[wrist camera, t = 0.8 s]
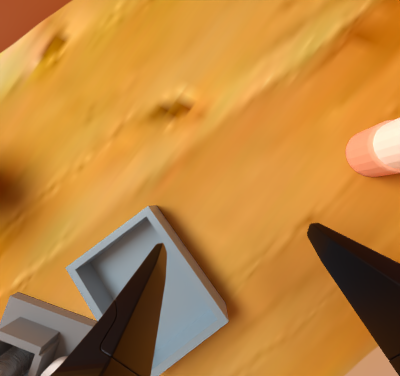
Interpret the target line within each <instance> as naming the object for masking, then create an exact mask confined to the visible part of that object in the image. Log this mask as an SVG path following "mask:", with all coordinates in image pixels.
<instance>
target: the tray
mask: <svg viewBox="0 0 400 376" xmlns="http://www.w3.org/2000/svg"><path fill="white" fill-rule="evenodd" d="M157 243H163V244H164V246H165V248H166V251H167V265H166V281H165V288H164V294H163V301H162V307H161V313H160V320H159V326H158V332H157V339H156V345H155V351H154V357H153V364H152V370H151V376H159V375H160V374H161V373H163V372H164V371H165V370H167V369H168V368H169V367H170V366H172V365H173V364H174V363H176V362H177V361H178V360H180V359H181V358H182V357H183V356H185V355H186V354H187V353H189V352H190V351H191V350H193V349H194V348H195V347H196V346H198V345H199V344H200V343H202V342H203V341H204V340H206V339H207V338H208V337H210V336H211V335H212V334H213V333H215V332H216V331H217V330H219V329H220V328H221V327H223V326H224V325H225V324H226V323H228V322H229V320H228V314H227V308H226V303H225V302H224V300H223V299H222V298H221V296H220V295H219V293H218V292H217V290H216V289H215V288H214V286H213V285H212V283H211V282H210V281H209V279H208V278H207V276H206V275H205V273H204V272H203V271H202V269H201V268H200V266H199V265H198V264H197V262H196V261H195V259H194V258H193V257H192V255H191V254H190V252H189V251H188V249H187V248H186V247H185V245H184V244H183V242H182V241H181V240H180V238H179V237H178V235H177V234H176V232H175V231H174V230H173V228H172V227H171V225H170V224H169V223H168V221H167V220H166V218H165V217H164V215H163V214H162V213H161V211H160V210H159V208H158V207H157V206H147V207H146V208H145V209H143V210H142V211H141V212H139V213H138V214H137V215H135V216H134V217H133V218H131V219H130V220H129V221H127V222H126V223H125V224H123V225H122V226H121V227H119V228H118V229H117V230H115V231H114V232H113V233H111V234H110V235H109V236H107V237H106V238H105V239H103V240H102V241H101V242H99V243H98V244H97V245H95V246H94V247H93V248H91V249H90V250H89V251H87V252H86V253H85V254H83V255H82V256H81V257H79V258H78V259H77V260H75V261H74V262H73V263H71V264H70V265H69V266H67V267H66V270H67V271H68V273H69V275H70V276H71V278H72V280H73V281H74V283H75V285H76V286H77V288H78V290H79V291H80V293H81V295H82V296H83V298H84V300H85V301H86V303H87V305H88V306H89V308H90V310H91V311H92V313H93V315H94V316H95V318H96V320H97V321H98V320H99V319H100V318H101V317H102V315H103V314H104V313H105V311H106V310H107V309H108V308H109V306H110V305H111V304H112V302H113V301H114V300H115V299H116V297H117V296H118V294H119V293H120V292H121V290H122V289H123V288H124V286H125V285H126V284H127V282H128V281H129V280H130V278H131V277H132V276H133V274H134V273H135V272H136V270H137V269H138V268H139V266H140V265H141V264H142V262H143V261H144V260H145V258H146V257H147V256H148V254H149V253H150V252H151V250H152V249H153V248H154V246H155V245H156V244H157Z"/></svg>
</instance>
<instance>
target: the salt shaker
mask: <svg viewBox="0 0 400 376" xmlns="http://www.w3.org/2000/svg"><path fill="white" fill-rule="evenodd" d="M34 356H35V354H34V353H31V352H29V351H26V350H24V349H21V348H19V347H16V346H13V347H12V348H11V349H9V350H8V351H7V352H5V353H4V354H3V355H1V356H0V376H24V375H25V374H26V373H27V372H28V371H29V370H30V367H31V365H32V362H33V359H34Z"/></svg>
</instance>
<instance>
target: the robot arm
mask: <svg viewBox="0 0 400 376" xmlns="http://www.w3.org/2000/svg"><path fill="white" fill-rule="evenodd" d="M307 236H308V238H309V240H310V242H311V243H312V245H313V247H314V249H315V251H316V253H317V254H318V256H319V258H320V260H321V261H322V263H323V264H324V266H325V267H326V269H327V270H328V272H329V273H330V275H331V276H332V278H333V279H334V281H335V282H336V284H337V285H338V286H339V288H340V289H341V291H342V292H343V294H344V295H345V297H346V298H347V300H348V301H349V303H350V304H351V306H352V307H353V309H354V310H355V311H356V313H357V314H358V316H359V317H360V319H361V320H362V322H363V323H364V325H365V326H366V328H367V329H368V331H369V332H370V333H371V335H372V336H373V338H374V339H375V341H376V342H377V344H378V345H379V347H380V348H381V349H382V351H383V353H384V354H385V356H386V357H387V358H388V360H390V361H389V362H390V363H391V365H392V366H393V368H394V369H395V370H396V372H397V373H398V375H399V376H400V263H398V262H396V261H394V260H392V259H390V258H388V257H386V256H384V255H382V254H380V253H378V252H376V251H374V250H372V249H370V248H368V247H366V246H364V245H362V244H360V243H358V242H356V241H354V240H352V239H350V238H348V237H346V236H344V235H342V234H340V233H338V232H336V231H334V230H332V229H330V228H328V227H326V226H324V225H322V224H320V223H312V224H310V225H309V229H308V232H307ZM166 265H167V251H166V248H165V246H164V244H163V243H157V244H156V245H155V246H154V248H153V249H152V250H151V252H150V253H149V254H148V256H147V257H146V258H145V260H144V261H143V262H142V264H141V265H140V266H139V268H138V269H137V270H136V272H135V273H134V274H133V276H132V277H131V278H130V280H129V281H128V282H127V284H126V285H125V286H124V288H123V289H122V290H121V292H120V293H119V294H118V296H117V297H116V299H115V300H114V301H113V302H112V304H111V305H110V306H109V308H108V309H107V310H106V311H105V313H104V314H103V315H102V317H101V318H100V319H99V320H98V322H97V323H96V324H95V325H94V326H93V328H92V329H91V330H90V331H89V332H88V333H87V335H86V336H85V337H84V338H83V339H82V340H81V342H80V343H79V344H78V345H77V346H76V347H75V349H74V350H73V351H72V352H71V353H70V354H69V356H68V357H67V358H66V359H65V360H64V361H63V363H62V364H61V365H60V366H59V367H58V368H57V369H56V370H55V371H54V372H53V373H52V374H51V375H50V376H151V370H152V364H153V357H154V351H155V345H156V339H157V332H158V326H159V320H160V313H161V307H162V301H163V294H164V288H165V281H166Z"/></svg>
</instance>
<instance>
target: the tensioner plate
mask: <svg viewBox="0 0 400 376" xmlns="http://www.w3.org/2000/svg"><path fill="white" fill-rule="evenodd" d="M96 323H97V321H95V320H92V319H89V318H86V317H84V316H81V315H78V314H76V313H73V312H70V311H68V310H65V309H62V308H59V307H57V306H54V305H51V304H49V303H46V302H43V301H41V300H38V299H35V298H32V297H30V296H27V295H24V294H22V293H19V292H17V293H15V294H13V295H11V296H10V298H9V300H8V303H7V306H6V309H5V311H4V314H3V317H2V320H1V322H0V356H1V355H3V354H4V353H5V352H7V351H8V350H9V349H11V348H12V347H13V346H16V347H19V348H21V349H24V350H26V351H29V352H31V353H34V354H35V356H34V359H33V362H32V365H31V367H30V370H29V371H28V372H27V373H26V374H25V375H24V376H50V375H51V374H52V373H53V372H54V371H55V370H56V369H57V368H58V367H59V366H60V365H61V364H62V363H63V361H64V360H65V359H66V358H67V357H68V356H69V354H70V353H71V352H72V351H73V350H74V349H75V347H76V346H77V345H78V344H79V343H80V342H81V340H82V339H83V338H84V337H85V336H86V335H87V333H88V332H89V331H90V330H91V329H92V328H93V326H94V325H95V324H96Z"/></svg>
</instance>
